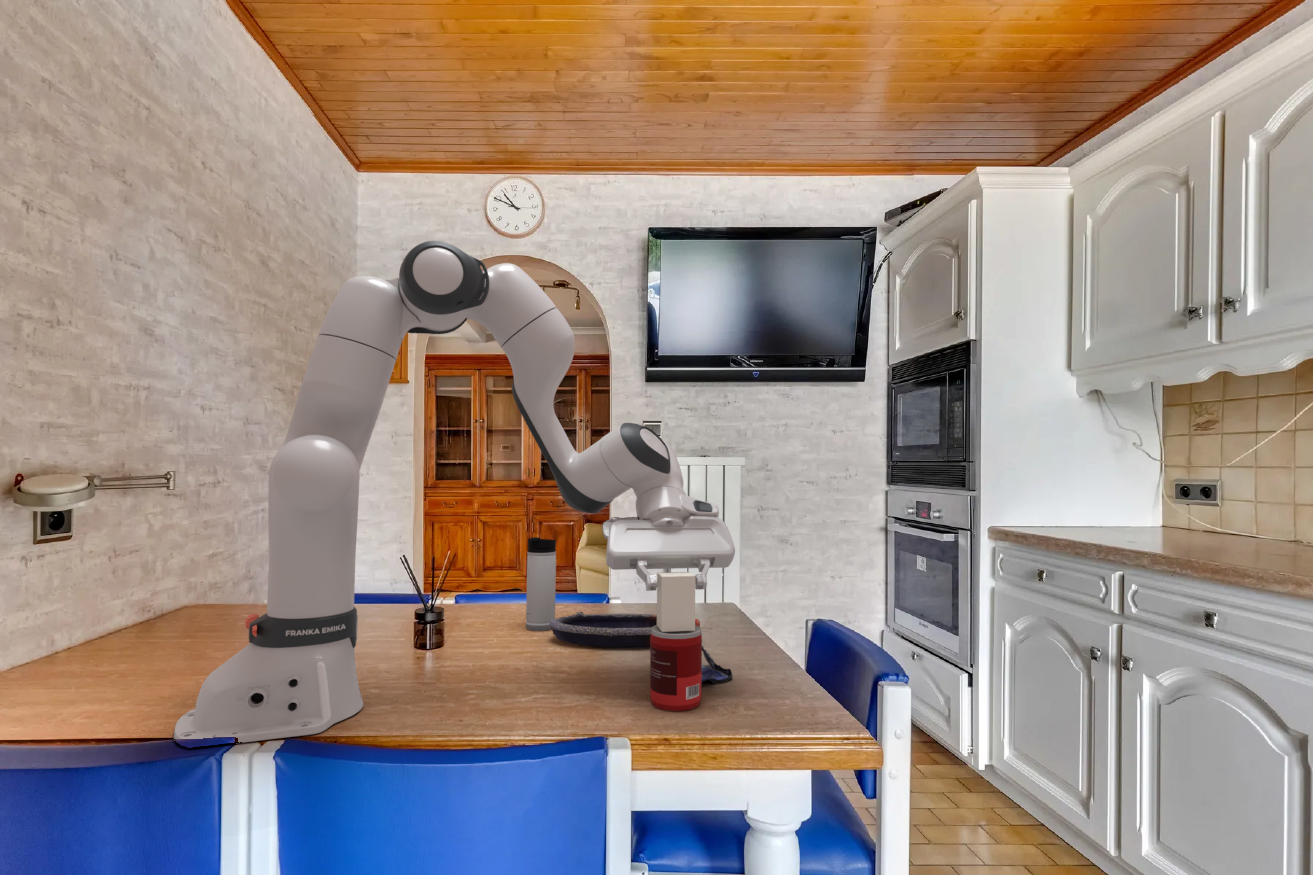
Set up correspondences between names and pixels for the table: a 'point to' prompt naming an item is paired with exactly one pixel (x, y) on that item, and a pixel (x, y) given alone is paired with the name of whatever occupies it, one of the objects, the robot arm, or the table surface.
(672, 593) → the block
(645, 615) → the dish
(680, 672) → the canned food
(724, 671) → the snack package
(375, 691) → the table surface
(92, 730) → the table surface
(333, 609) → the robot arm
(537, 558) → the travel mug
